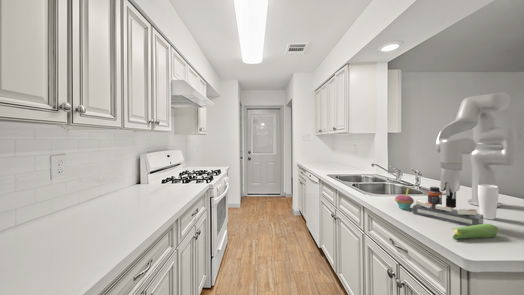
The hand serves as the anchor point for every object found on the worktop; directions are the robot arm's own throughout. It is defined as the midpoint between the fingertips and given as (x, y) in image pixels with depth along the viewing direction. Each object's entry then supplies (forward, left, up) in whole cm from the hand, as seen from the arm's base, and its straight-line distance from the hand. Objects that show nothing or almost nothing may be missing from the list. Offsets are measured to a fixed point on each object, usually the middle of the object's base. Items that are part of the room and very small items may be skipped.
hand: (450, 206), depth 101 cm
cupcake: (-4, -21, -7) cm, 22 cm away
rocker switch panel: (-2, -2, -6) cm, 7 cm away
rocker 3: (0, +6, -1) cm, 6 cm away
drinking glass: (-17, +9, -7) cm, 20 cm away
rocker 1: (0, -10, -1) cm, 11 cm away
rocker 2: (0, -2, -1) cm, 3 cm away
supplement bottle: (-16, -11, -7) cm, 21 cm away
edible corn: (+14, +10, -7) cm, 18 cm away
